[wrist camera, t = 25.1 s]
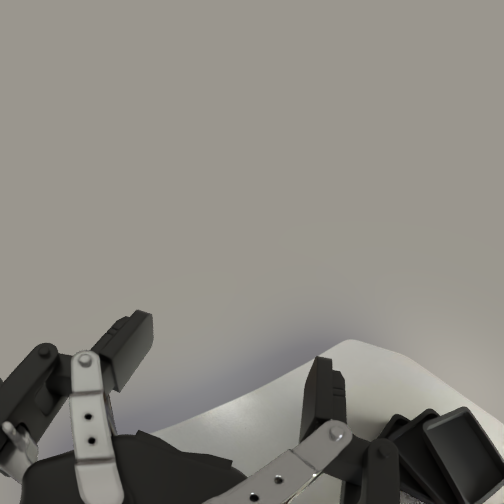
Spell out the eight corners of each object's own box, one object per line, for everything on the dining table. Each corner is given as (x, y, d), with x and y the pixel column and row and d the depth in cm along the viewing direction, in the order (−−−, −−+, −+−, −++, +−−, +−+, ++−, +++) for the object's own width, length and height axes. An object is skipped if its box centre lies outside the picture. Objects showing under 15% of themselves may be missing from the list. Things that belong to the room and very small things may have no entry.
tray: (345, 488, 32) (359, 474, 29) (388, 396, 50) (399, 379, 48) (485, 530, 17) (506, 518, 15) (497, 439, 35) (511, 424, 33)
